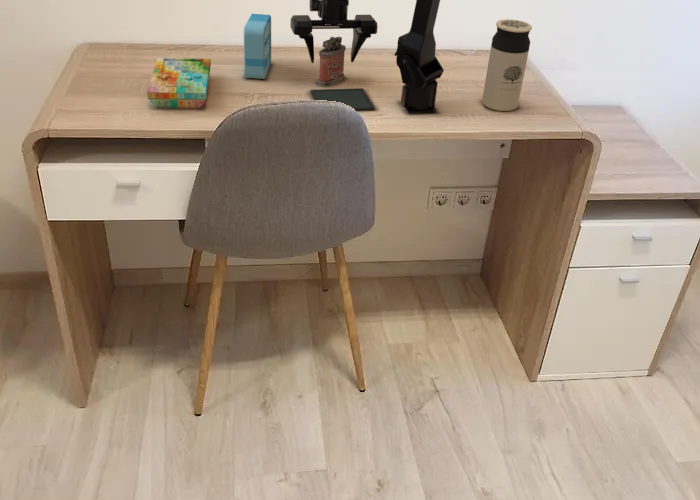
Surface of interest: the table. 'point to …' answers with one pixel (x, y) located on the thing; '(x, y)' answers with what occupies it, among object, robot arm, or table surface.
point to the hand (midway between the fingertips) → (332, 62)
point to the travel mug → (506, 65)
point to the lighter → (331, 62)
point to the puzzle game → (179, 82)
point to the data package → (257, 46)
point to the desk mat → (345, 97)
